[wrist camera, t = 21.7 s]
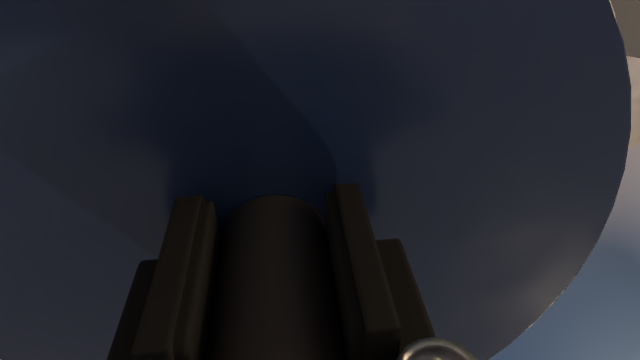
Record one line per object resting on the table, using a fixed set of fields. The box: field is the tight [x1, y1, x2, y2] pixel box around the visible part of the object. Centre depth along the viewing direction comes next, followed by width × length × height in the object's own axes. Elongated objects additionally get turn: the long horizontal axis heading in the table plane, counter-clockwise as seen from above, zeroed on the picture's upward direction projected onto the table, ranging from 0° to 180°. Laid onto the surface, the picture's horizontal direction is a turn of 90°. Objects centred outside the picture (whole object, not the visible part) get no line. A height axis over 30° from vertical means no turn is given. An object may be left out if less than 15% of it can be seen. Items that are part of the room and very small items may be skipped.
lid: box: [0, 0, 631, 360], centre depth 9 cm, size 16×16×6 cm
